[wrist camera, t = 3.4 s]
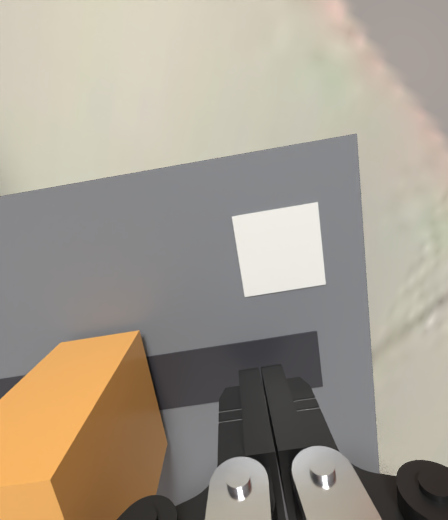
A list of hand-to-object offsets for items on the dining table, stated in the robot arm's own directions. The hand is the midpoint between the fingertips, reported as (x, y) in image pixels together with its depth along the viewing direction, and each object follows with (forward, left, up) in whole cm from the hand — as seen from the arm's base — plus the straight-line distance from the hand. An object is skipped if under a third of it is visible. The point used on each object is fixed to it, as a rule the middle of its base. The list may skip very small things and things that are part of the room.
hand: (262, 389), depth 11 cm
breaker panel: (-6, 0, -4) cm, 7 cm away
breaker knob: (-6, 0, -1) cm, 6 cm away
